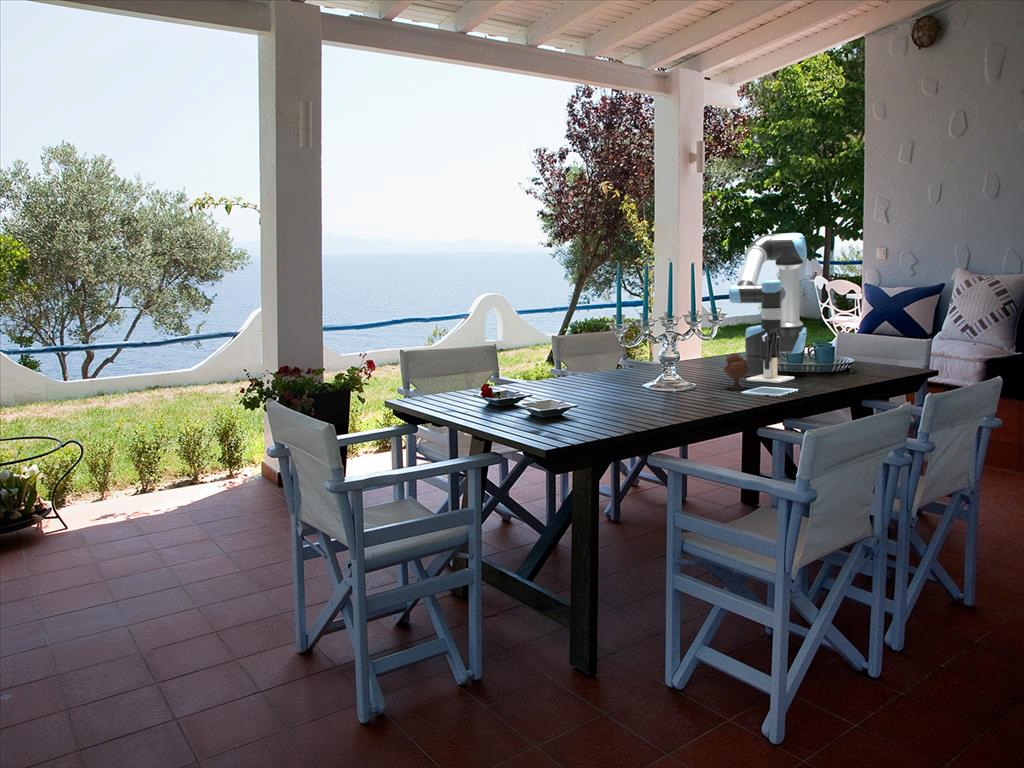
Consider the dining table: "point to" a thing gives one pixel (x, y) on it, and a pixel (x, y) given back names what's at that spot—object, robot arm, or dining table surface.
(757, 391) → the mat
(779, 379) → the lid
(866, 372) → the dining table surface
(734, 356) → the ice cream bowl
